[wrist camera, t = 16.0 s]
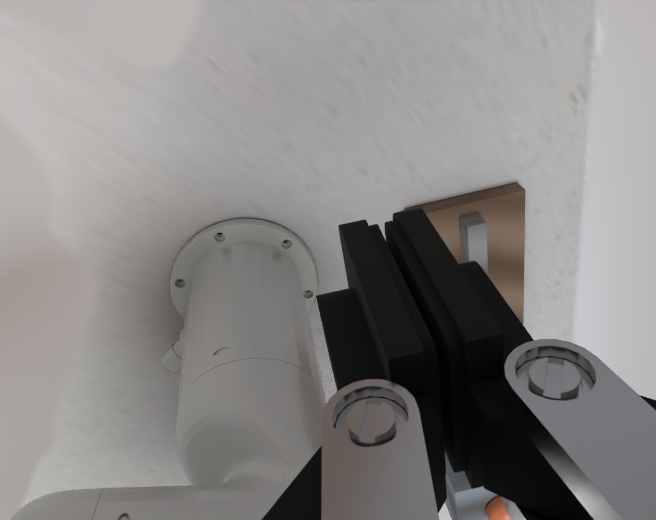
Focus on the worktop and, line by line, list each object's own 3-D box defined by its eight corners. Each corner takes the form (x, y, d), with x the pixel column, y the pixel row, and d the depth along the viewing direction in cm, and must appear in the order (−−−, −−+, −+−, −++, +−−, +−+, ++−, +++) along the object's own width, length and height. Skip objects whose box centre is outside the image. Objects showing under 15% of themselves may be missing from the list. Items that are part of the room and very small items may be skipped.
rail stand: (515, 457, 68) (547, 517, 61) (435, 477, 67) (459, 539, 61) (517, 182, 48) (564, 225, 41) (404, 209, 48) (434, 256, 41)
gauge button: (522, 513, 60) (530, 530, 58) (485, 522, 59) (493, 540, 58) (522, 490, 57) (531, 507, 56) (484, 499, 57) (492, 517, 56)
